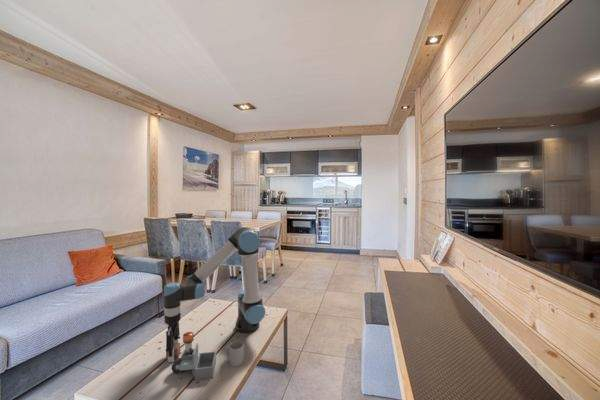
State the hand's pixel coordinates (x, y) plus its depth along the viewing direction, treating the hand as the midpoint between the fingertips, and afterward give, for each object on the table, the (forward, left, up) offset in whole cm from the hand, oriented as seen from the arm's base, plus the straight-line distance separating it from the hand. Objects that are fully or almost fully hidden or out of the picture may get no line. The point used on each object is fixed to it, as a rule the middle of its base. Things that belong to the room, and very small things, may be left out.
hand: (173, 356), depth 135 cm
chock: (0, 0, 0) cm, 0 cm away
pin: (-10, +10, +6) cm, 16 cm away
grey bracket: (-8, +12, 0) cm, 15 cm away
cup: (-31, +9, -1) cm, 33 cm away
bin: (-18, +13, 0) cm, 23 cm away
